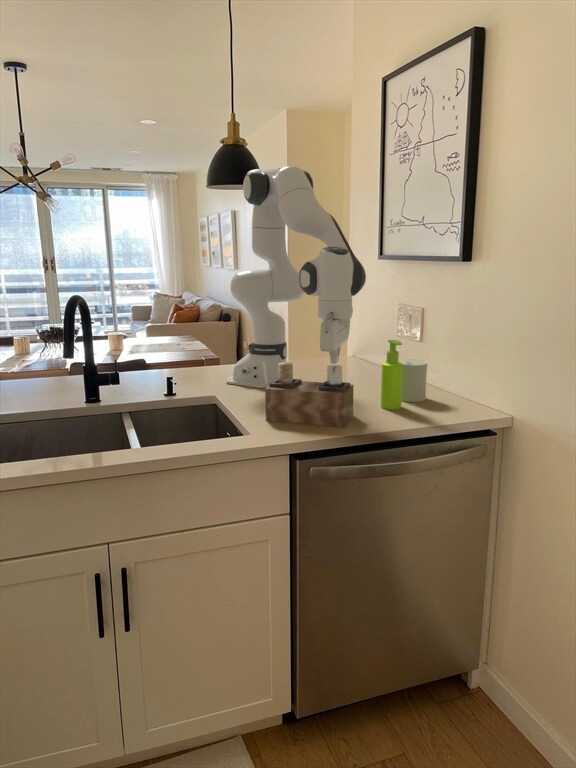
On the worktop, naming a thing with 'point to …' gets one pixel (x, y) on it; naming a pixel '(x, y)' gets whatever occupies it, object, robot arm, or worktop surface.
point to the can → (413, 380)
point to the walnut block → (309, 403)
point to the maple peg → (285, 372)
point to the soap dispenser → (391, 379)
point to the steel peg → (334, 376)
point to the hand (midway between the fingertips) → (334, 362)
